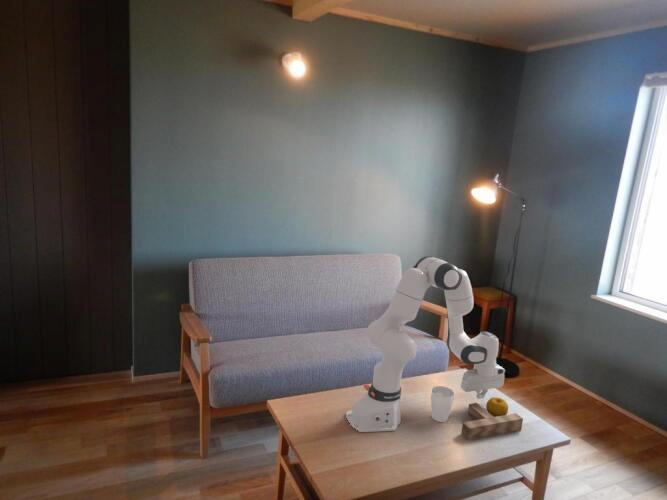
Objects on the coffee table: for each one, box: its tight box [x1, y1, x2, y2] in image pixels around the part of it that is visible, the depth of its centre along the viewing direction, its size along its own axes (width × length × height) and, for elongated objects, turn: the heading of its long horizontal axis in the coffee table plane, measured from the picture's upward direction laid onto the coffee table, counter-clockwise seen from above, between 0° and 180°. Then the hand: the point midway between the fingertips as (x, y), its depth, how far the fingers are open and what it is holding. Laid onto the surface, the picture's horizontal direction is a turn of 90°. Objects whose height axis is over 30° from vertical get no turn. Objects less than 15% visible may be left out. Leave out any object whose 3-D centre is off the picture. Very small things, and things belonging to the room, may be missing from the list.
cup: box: [430, 385, 455, 423], centre depth 188 cm, size 9×9×12 cm
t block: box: [460, 402, 524, 441], centre depth 186 cm, size 26×15×5 cm, turn 110°
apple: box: [485, 396, 509, 417], centre depth 191 cm, size 8×8×9 cm
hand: (480, 397), depth 200 cm, fingers closed
